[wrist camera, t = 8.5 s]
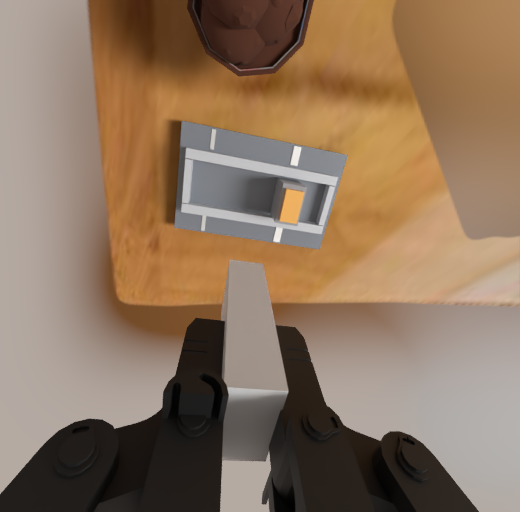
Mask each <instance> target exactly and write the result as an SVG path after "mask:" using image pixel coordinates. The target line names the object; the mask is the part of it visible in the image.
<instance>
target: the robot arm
mask: <svg viewBox="0 0 520 512" xmlns="http://www.w3.org/2000/svg"><path fill="white" fill-rule="evenodd" d="M268 452H270V462H271V471H270V474H269V477H268V480H267V483H266V486H265V488H264V491H263V496H262V504H266V503H267V500H268V498H269V510H270V512H479V511H478V510H477V509H476V507H475V506H474V505H473V504H472V502H471V501H470V500H469V499H468V498H467V496H466V495H465V494H464V493H463V491H462V490H461V489H460V488H459V486H458V485H457V484H456V482H455V481H454V480H453V479H452V477H451V476H450V475H449V474H448V473H447V471H446V470H445V469H444V467H443V466H442V465H441V464H440V462H439V461H438V460H437V459H436V457H435V456H434V455H433V454H432V453H431V452H430V451H429V450H428V449H427V448H426V447H425V446H424V444H423V443H421V442H420V441H418V440H417V439H415V438H414V437H412V436H411V435H408V434H405V433H402V432H389V433H387V434H386V435H384V436H383V438H382V440H381V441H379V440H376V439H374V438H371V437H368V436H366V435H363V434H360V433H358V432H355V431H353V430H351V429H349V428H347V427H346V426H344V425H343V423H342V422H341V420H340V418H339V416H338V415H337V414H335V412H334V411H333V410H332V409H331V408H330V407H327V405H326V403H325V401H324V398H323V395H322V392H321V388H320V385H319V382H318V380H317V376H316V373H315V370H314V367H313V364H312V362H311V359H310V355H309V352H308V349H307V345H306V342H305V339H304V337H303V336H302V335H301V334H300V332H299V331H298V330H297V329H296V328H295V327H288V326H277V325H275V322H274V316H273V311H272V307H271V301H270V296H269V291H268V286H267V281H266V276H265V271H264V266H263V264H260V263H252V262H245V261H238V260H230V262H229V268H228V274H227V281H226V287H225V293H224V299H223V305H222V314H221V321H220V320H210V319H200V318H195V320H194V321H193V322H192V323H191V324H190V325H189V326H188V327H187V331H186V335H185V339H184V343H183V347H182V351H181V355H180V359H179V363H178V367H177V371H176V375H175V376H174V377H173V378H172V379H171V380H170V381H169V382H168V384H167V386H166V388H165V390H164V392H163V407H162V409H161V410H160V411H159V412H157V413H156V414H155V415H153V416H152V417H150V418H148V419H147V420H144V421H141V422H138V423H136V424H132V425H128V426H124V427H120V428H116V429H114V427H113V426H112V425H111V424H109V423H107V422H105V421H103V420H99V419H86V420H82V421H78V422H74V423H73V424H70V425H68V426H67V427H65V428H63V429H61V430H59V431H58V432H57V433H56V434H55V435H53V436H52V437H51V438H50V439H49V440H48V441H47V442H46V443H45V444H44V445H43V446H42V447H41V448H40V449H39V450H38V452H37V453H36V454H35V455H34V456H33V457H32V459H31V460H30V461H29V462H28V463H27V464H26V465H25V467H24V468H23V469H22V470H21V471H20V472H19V473H18V475H17V476H16V477H15V478H14V479H13V480H12V482H11V483H10V484H9V485H8V486H7V487H6V488H5V490H4V491H3V492H2V493H1V494H0V512H220V496H221V495H220V494H221V471H222V460H232V461H266V458H267V455H268Z"/></svg>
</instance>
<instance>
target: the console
mask: <svg viewBox="0 0 520 512" xmlns="http://www.w3.org/2000/svg"><path fill="white" fill-rule="evenodd" d="M347 156H348V155H344V154H339V153H335V152H330V151H325V150H320V149H315V148H311V147H306V146H301V145H296V144H291V143H287V142H282V141H277V140H272V139H267V138H263V137H258V136H253V135H248V134H243V133H239V132H234V131H229V130H224V129H219V128H215V127H210V126H205V125H200V124H195V123H190V122H186V121H182V125H181V139H180V154H179V168H178V183H177V198H176V212H175V227H174V228H180V229H187V230H194V231H200V232H207V233H214V234H220V235H227V236H234V237H240V238H247V239H254V240H260V241H267V242H274V243H280V244H287V245H294V246H300V247H307V248H314V249H320V246H321V243H322V240H323V236H324V233H325V230H326V226H327V223H328V220H329V216H330V213H331V210H332V206H333V203H334V200H335V196H336V193H337V189H338V186H339V183H340V179H341V176H342V173H343V169H344V166H345V163H346V159H347ZM278 177H280V178H285V179H290V180H296V181H299V182H300V183H302V184H303V185H304V186H306V187H307V190H306V194H305V198H304V202H303V206H302V210H301V214H300V218H299V222H298V226H293V225H286V224H280V223H275V222H274V220H273V217H272V215H271V213H270V211H271V206H272V202H273V197H274V192H275V187H276V182H277V178H278Z"/></svg>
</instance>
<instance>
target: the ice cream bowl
mask: <svg viewBox="0 0 520 512" xmlns="http://www.w3.org/2000/svg"><path fill="white" fill-rule="evenodd" d="M313 1H314V0H188V7H187V8H188V11H189V13H190V16H191V18H192V20H193V23H194V25H195V28H196V30H197V32H198V35H199V37H200V40H201V42H202V44H203V47H204V49H205V52H206V53H207V54H208V55H210V56H211V57H212V58H214V59H215V60H217V61H218V62H219V63H221V64H222V65H224V66H225V67H226V68H228V69H229V70H231V71H232V72H233V73H235V74H236V75H238V76H250V75H261V74H272V73H276V72H277V71H278V70H279V69H280V68H281V67H282V66H283V65H284V64H285V63H286V62H287V61H288V60H289V59H290V58H291V57H292V56H293V55H294V53H295V52H296V51H297V50H298V49H299V48H300V47H301V46H302V45H303V43H304V39H305V35H306V31H307V27H308V22H309V18H310V14H311V10H312V5H313Z"/></svg>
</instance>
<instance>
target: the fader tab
mask: <svg viewBox="0 0 520 512" xmlns="http://www.w3.org/2000/svg"><path fill="white" fill-rule="evenodd" d="M306 190H307V187H306V186H304V185H303V184H302V183H300V182H299V181H296V180H290V179H285V178H280V177H278V178H277V182H276V187H275V192H274V197H273V202H272V206H271V211H270V213H271V215H272V217H273V220H274V222H275V223H280V224H286V225H293V226H298V222H299V218H300V214H301V210H302V206H303V202H304V198H305V194H306Z"/></svg>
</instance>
